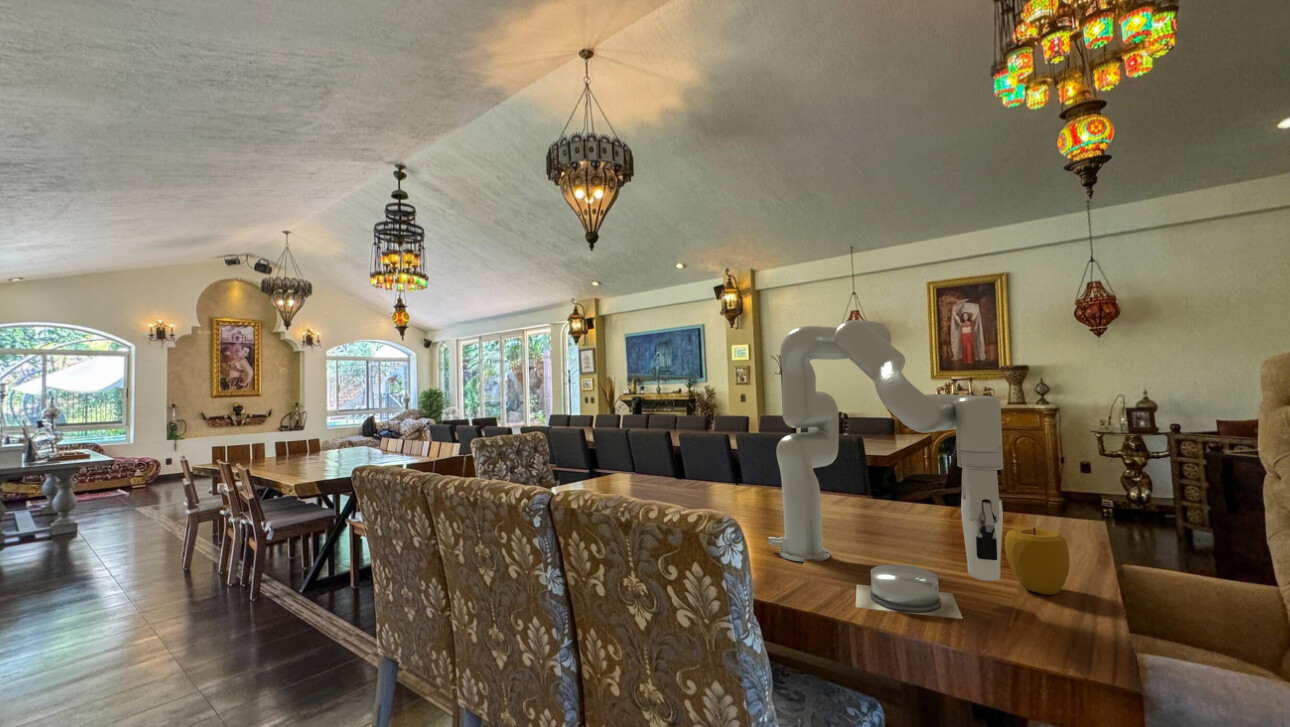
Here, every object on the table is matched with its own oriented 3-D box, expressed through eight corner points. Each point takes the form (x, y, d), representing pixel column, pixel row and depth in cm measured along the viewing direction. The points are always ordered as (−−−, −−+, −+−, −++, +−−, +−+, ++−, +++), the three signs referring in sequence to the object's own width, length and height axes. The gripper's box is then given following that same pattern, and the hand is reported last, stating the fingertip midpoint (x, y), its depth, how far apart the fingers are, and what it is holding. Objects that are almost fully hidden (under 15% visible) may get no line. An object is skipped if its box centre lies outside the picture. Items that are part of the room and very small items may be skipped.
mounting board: (855, 612, 103) (855, 607, 103) (856, 589, 115) (856, 584, 115) (963, 624, 97) (962, 618, 97) (952, 598, 109) (952, 593, 109)
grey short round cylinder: (870, 608, 103) (869, 581, 103) (870, 585, 114) (868, 561, 115) (945, 616, 98) (943, 588, 98) (937, 591, 110) (935, 566, 110)
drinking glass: (1006, 586, 99) (1002, 503, 99) (963, 579, 102) (960, 500, 103) (1004, 574, 104) (1001, 496, 105) (964, 568, 108) (961, 493, 109)
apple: (1003, 578, 118) (999, 519, 119) (1064, 584, 114) (1059, 522, 114) (1013, 596, 108) (1008, 531, 109) (1079, 603, 104) (1074, 535, 105)
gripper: (950, 453, 113) (954, 539, 113) (965, 465, 97) (968, 566, 97) (992, 454, 111) (995, 542, 110) (1014, 467, 95) (1018, 570, 94)
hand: (983, 552), depth 104 cm, fingers closed on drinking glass, 6 cm apart
